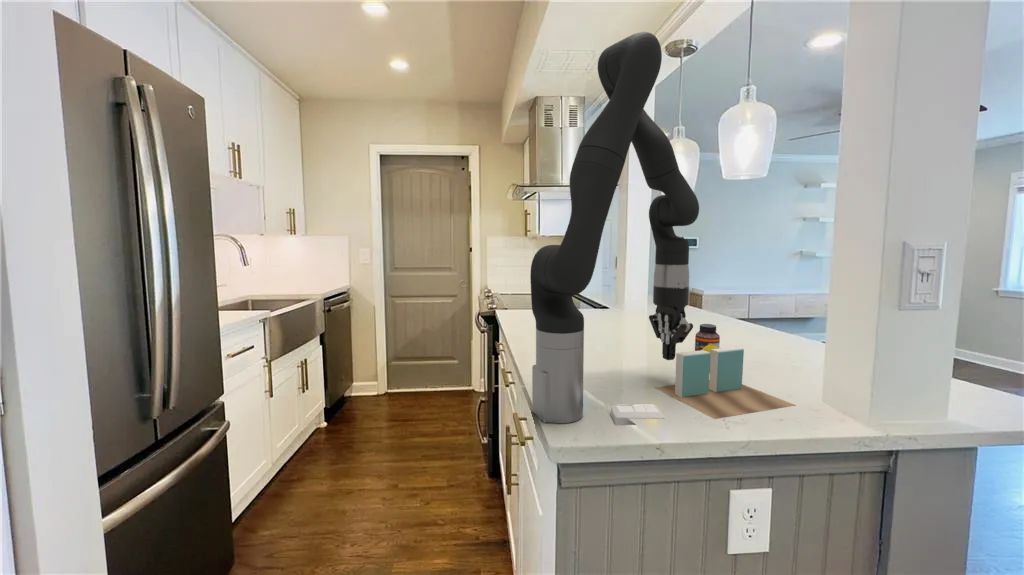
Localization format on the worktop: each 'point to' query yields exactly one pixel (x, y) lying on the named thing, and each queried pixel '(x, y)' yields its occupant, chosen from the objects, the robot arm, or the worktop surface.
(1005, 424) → the worktop surface
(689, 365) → the tile near
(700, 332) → the supplement bottle
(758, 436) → the worktop surface
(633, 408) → the white light switch
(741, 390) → the board
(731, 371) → the tile far
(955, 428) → the worktop surface
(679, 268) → the robot arm
